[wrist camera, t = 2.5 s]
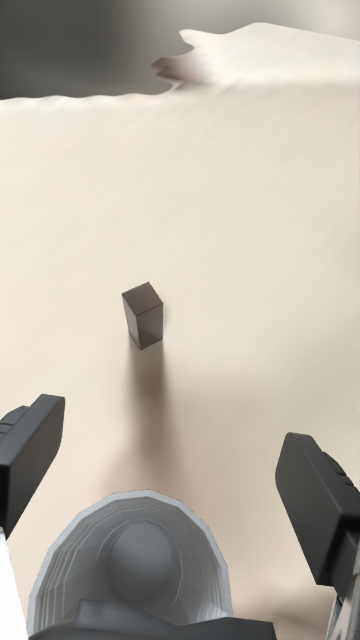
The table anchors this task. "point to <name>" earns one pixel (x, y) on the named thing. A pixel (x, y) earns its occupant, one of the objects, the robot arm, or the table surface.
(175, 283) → the table surface
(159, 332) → the post
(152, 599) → the plastic cup
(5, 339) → the table surface
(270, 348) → the table surface
